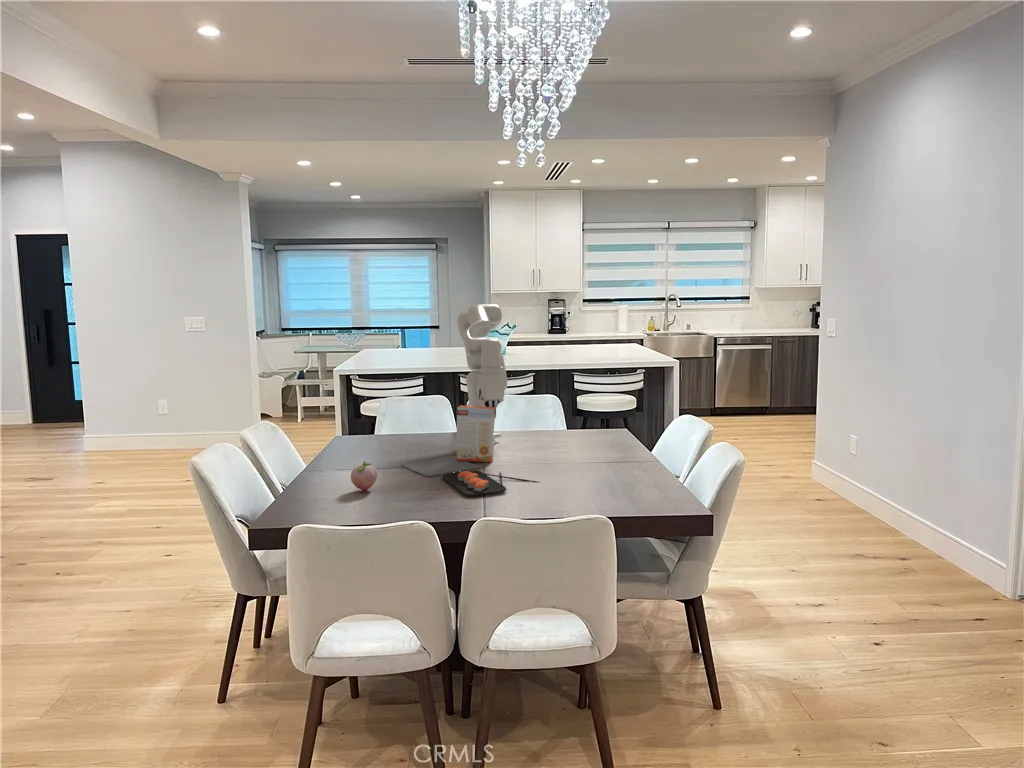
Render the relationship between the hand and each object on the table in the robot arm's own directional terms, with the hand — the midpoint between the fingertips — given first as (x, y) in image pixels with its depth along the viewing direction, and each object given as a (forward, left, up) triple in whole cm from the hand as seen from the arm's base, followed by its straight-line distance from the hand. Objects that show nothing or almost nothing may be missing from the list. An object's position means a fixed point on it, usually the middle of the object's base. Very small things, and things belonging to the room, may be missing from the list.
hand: (491, 417), depth 273 cm
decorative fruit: (+59, +14, -16) cm, 63 cm away
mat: (+23, 0, -16) cm, 28 cm away
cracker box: (+8, 0, -16) cm, 18 cm away
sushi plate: (+19, +31, -17) cm, 40 cm away
